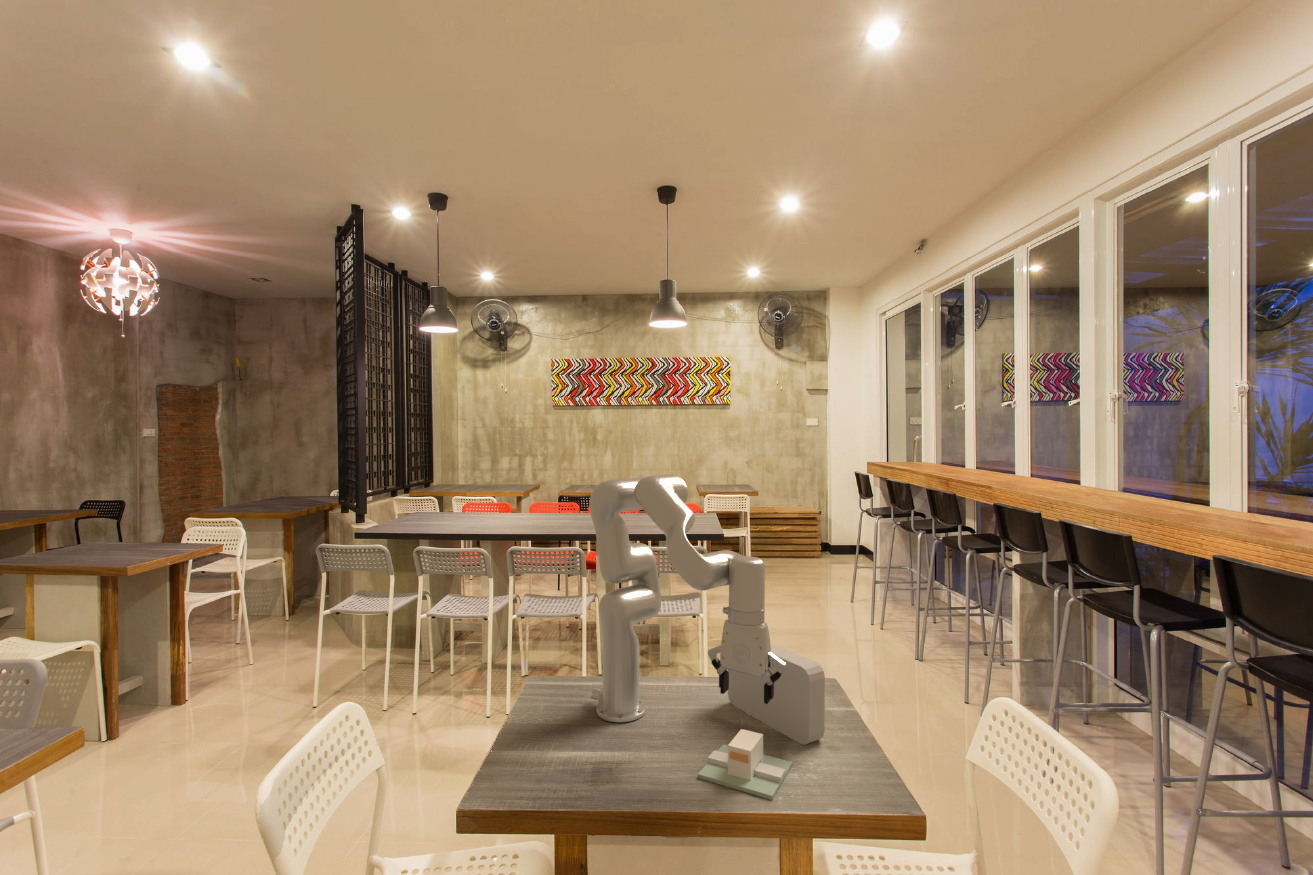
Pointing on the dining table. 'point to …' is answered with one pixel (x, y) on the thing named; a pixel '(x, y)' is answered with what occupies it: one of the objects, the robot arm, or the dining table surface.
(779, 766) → the rail board
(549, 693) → the dining table surface
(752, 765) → the block
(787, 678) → the grey rounded block
